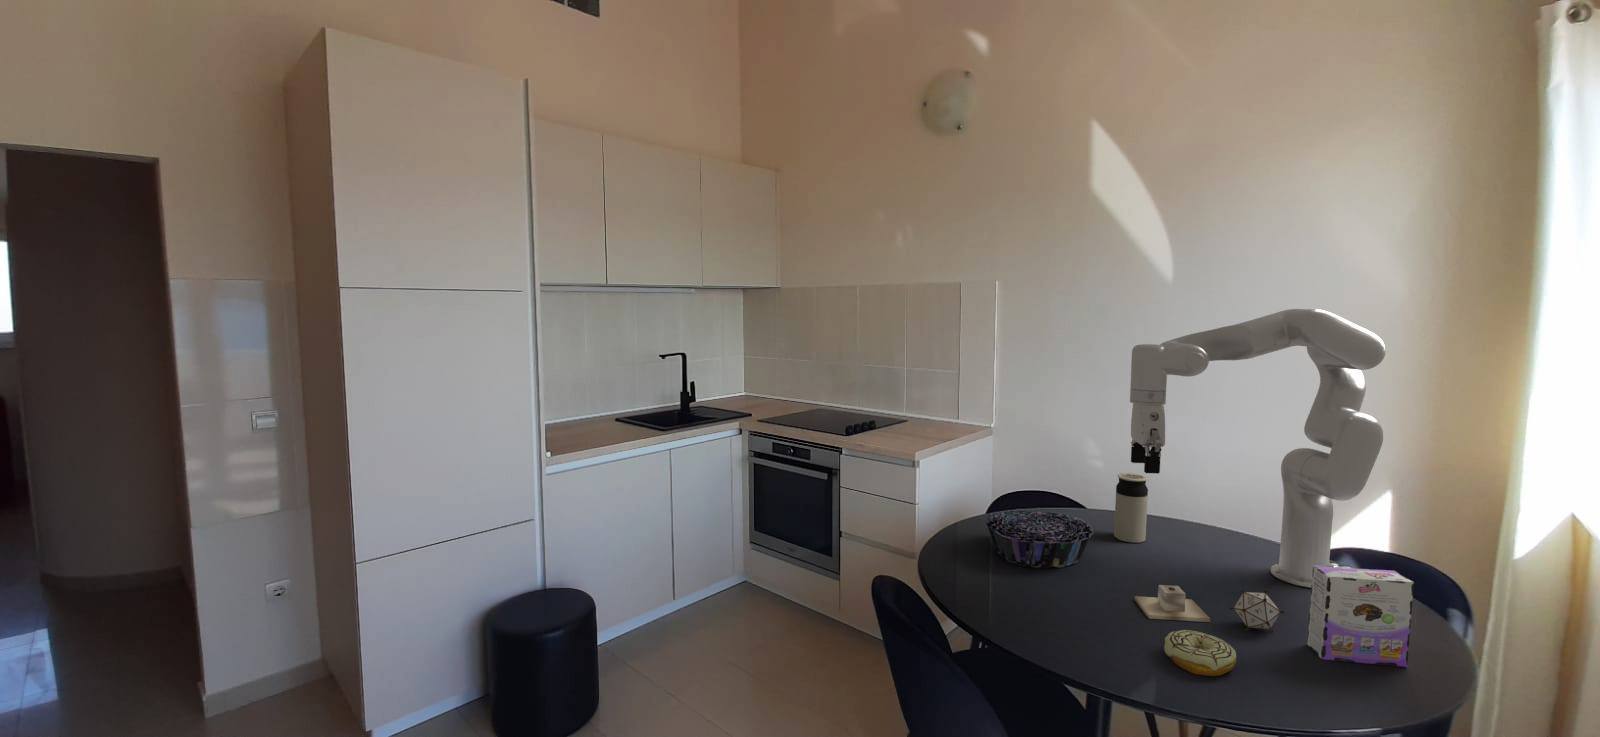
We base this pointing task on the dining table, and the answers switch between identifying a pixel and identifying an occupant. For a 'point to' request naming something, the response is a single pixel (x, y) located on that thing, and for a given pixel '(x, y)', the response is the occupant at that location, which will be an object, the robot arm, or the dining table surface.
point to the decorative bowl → (1039, 537)
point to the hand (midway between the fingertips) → (1144, 467)
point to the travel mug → (1131, 508)
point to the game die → (1256, 610)
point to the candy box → (1360, 615)
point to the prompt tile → (1171, 615)
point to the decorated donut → (1200, 652)
